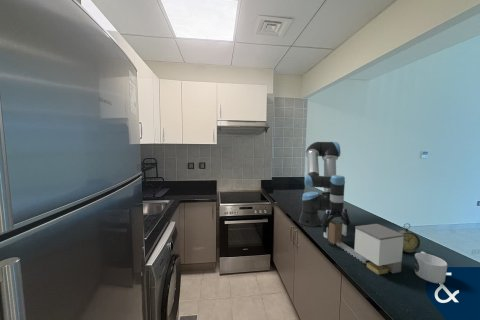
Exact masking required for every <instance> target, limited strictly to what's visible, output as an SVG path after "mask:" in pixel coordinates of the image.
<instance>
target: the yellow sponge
mask: <svg viewBox="0 0 480 320" xmlns="http://www.w3.org/2000/svg"><path fill="white" fill-rule="evenodd" d="M366 268H368V269H369V270H370V271H371V272H374V273H375V274H376V275H378V276H380V275H383V274H388V273H389V271H388V269H389V268H387V267H385V266H384V265H381V266H378V265H376V264H374V263H373V262H371V261H370V262H369V263H367V264H366Z"/></svg>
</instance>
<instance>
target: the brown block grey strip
mask: <svg viewBox="0 0 480 320" xmlns="http://www.w3.org/2000/svg"><path fill="white" fill-rule="evenodd" d="M342 224H343V223H340V222H338V221H336V220H331V222H330V223H329V225H328V238H327V239H328V242H329V241H330V242H329V243H331V244H332V243H333V244H332V245H334V244H336V246H337V247H339V248H340V249H342V250H343V249H344V250H343V251H345V252H346V251H347V252H346V253H348V254H349V253H350V254H349V255H350V256H352V255H353V258H355V257H356V259H357V260H358V259H359V260H358V261H360V262H361V261H362V263H363V264H364V265H367V263H369V262H371V261H370V260H368V259H366V258H365V257H363V256H362V255H360V254H358V253H357V252H355V251H354V248H353V247H350V246H348V244H346V243H344V242H342V235H343V234H342Z"/></svg>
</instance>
